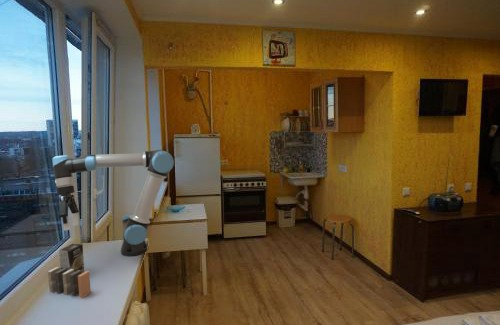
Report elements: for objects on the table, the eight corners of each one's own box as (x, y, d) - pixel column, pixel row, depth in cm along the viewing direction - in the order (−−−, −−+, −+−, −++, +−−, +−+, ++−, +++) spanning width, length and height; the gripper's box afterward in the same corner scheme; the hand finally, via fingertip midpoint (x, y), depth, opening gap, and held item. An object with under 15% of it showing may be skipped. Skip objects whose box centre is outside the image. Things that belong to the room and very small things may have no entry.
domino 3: (64, 294, 143) (62, 273, 142) (73, 289, 148) (71, 268, 146) (67, 295, 143) (65, 274, 141) (75, 289, 147) (74, 269, 146)
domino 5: (79, 297, 141) (77, 276, 139) (87, 291, 145) (86, 271, 144) (82, 297, 140) (80, 276, 139) (90, 291, 145) (89, 271, 144)
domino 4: (71, 295, 142) (70, 274, 141) (80, 290, 147) (78, 269, 145) (74, 296, 141) (72, 275, 140) (83, 290, 146) (81, 270, 145)
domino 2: (56, 293, 144) (55, 272, 143) (66, 287, 149) (64, 267, 148) (59, 293, 144) (57, 273, 142) (68, 288, 148) (67, 268, 147)
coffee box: (72, 282, 154) (69, 251, 152) (60, 281, 155) (58, 250, 153) (85, 273, 163) (83, 243, 161) (74, 272, 164) (72, 243, 162)
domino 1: (49, 292, 145) (47, 271, 144) (59, 286, 150) (57, 266, 149) (52, 292, 145) (50, 271, 144) (61, 287, 150) (59, 267, 148)
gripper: (65, 186, 170) (71, 225, 170) (46, 188, 146) (54, 233, 146) (80, 184, 172) (86, 222, 172) (64, 185, 147) (71, 230, 147)
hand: (71, 227), depth 159 cm, fingers open, 13 cm apart
